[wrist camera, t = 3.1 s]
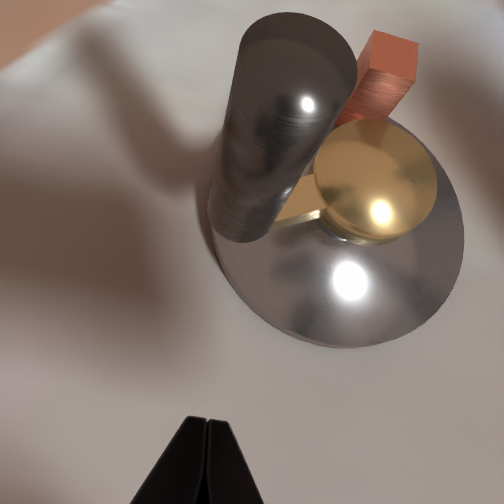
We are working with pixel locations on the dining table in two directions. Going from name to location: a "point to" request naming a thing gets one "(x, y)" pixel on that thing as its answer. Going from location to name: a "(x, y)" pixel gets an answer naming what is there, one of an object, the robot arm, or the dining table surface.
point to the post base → (349, 254)
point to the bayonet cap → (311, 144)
